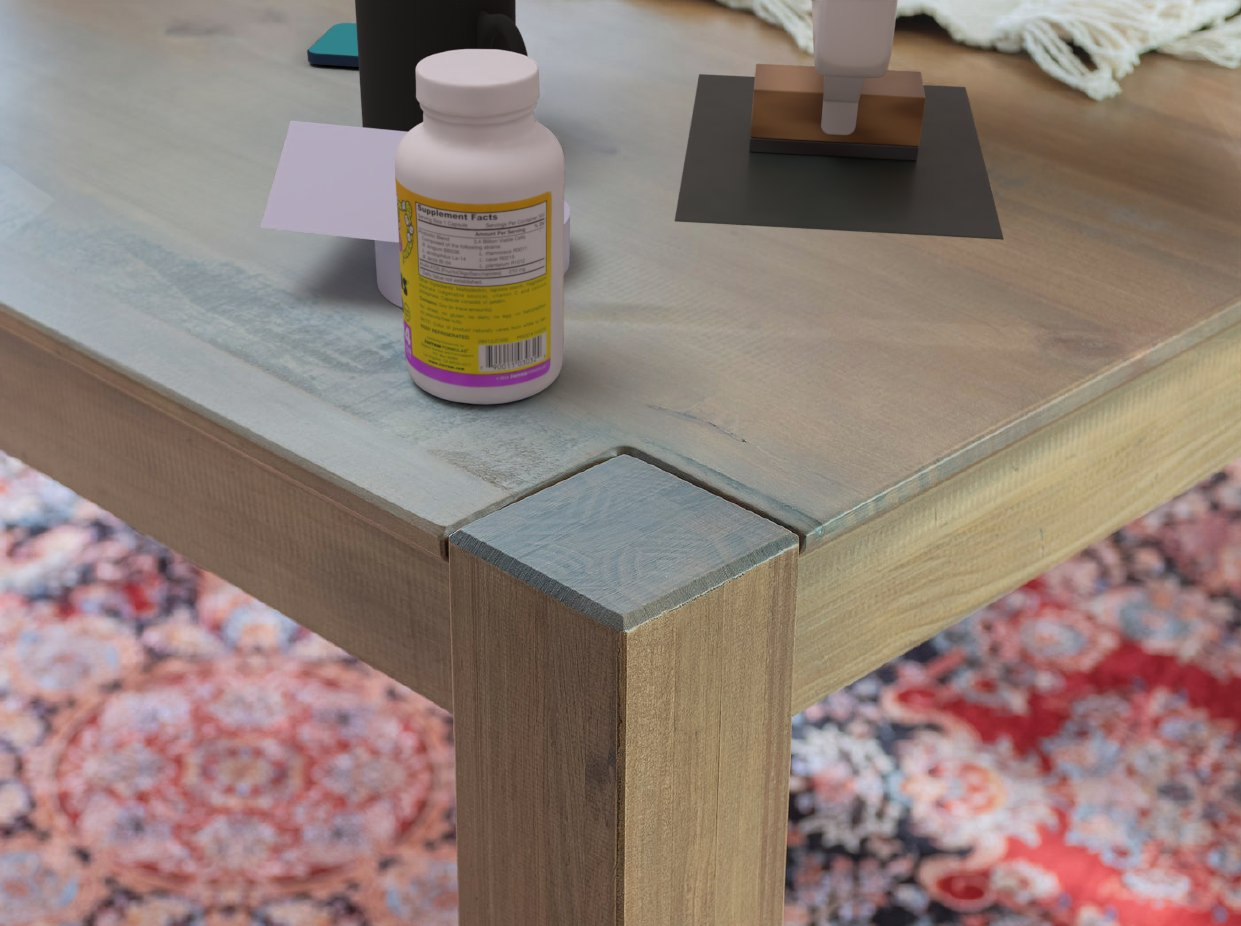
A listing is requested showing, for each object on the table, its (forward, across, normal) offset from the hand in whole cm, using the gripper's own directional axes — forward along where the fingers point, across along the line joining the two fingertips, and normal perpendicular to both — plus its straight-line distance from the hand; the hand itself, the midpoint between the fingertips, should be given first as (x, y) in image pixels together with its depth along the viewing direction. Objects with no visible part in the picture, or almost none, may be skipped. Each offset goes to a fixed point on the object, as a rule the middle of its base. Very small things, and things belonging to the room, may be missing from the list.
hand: (835, 112), depth 91 cm
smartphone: (+3, +16, +25) cm, 29 cm away
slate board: (+3, -1, 0) cm, 3 cm away
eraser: (+2, 0, 0) cm, 2 cm away
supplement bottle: (+3, -29, +15) cm, 32 cm away
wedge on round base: (+3, -19, +19) cm, 27 cm away
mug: (+3, -5, +20) cm, 21 cm away
